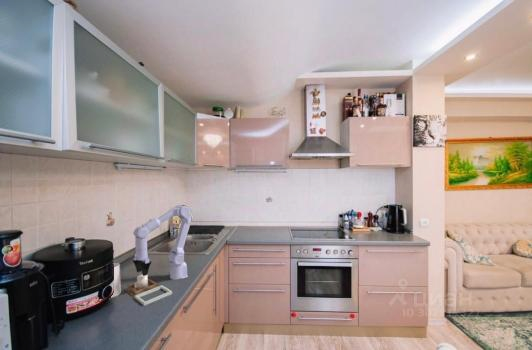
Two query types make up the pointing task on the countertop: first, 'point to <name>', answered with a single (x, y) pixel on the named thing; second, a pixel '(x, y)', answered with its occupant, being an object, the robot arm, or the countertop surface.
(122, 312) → the countertop surface
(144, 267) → the robot arm
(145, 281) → the white rounded piece
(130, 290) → the tray
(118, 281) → the cup
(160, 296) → the tray
